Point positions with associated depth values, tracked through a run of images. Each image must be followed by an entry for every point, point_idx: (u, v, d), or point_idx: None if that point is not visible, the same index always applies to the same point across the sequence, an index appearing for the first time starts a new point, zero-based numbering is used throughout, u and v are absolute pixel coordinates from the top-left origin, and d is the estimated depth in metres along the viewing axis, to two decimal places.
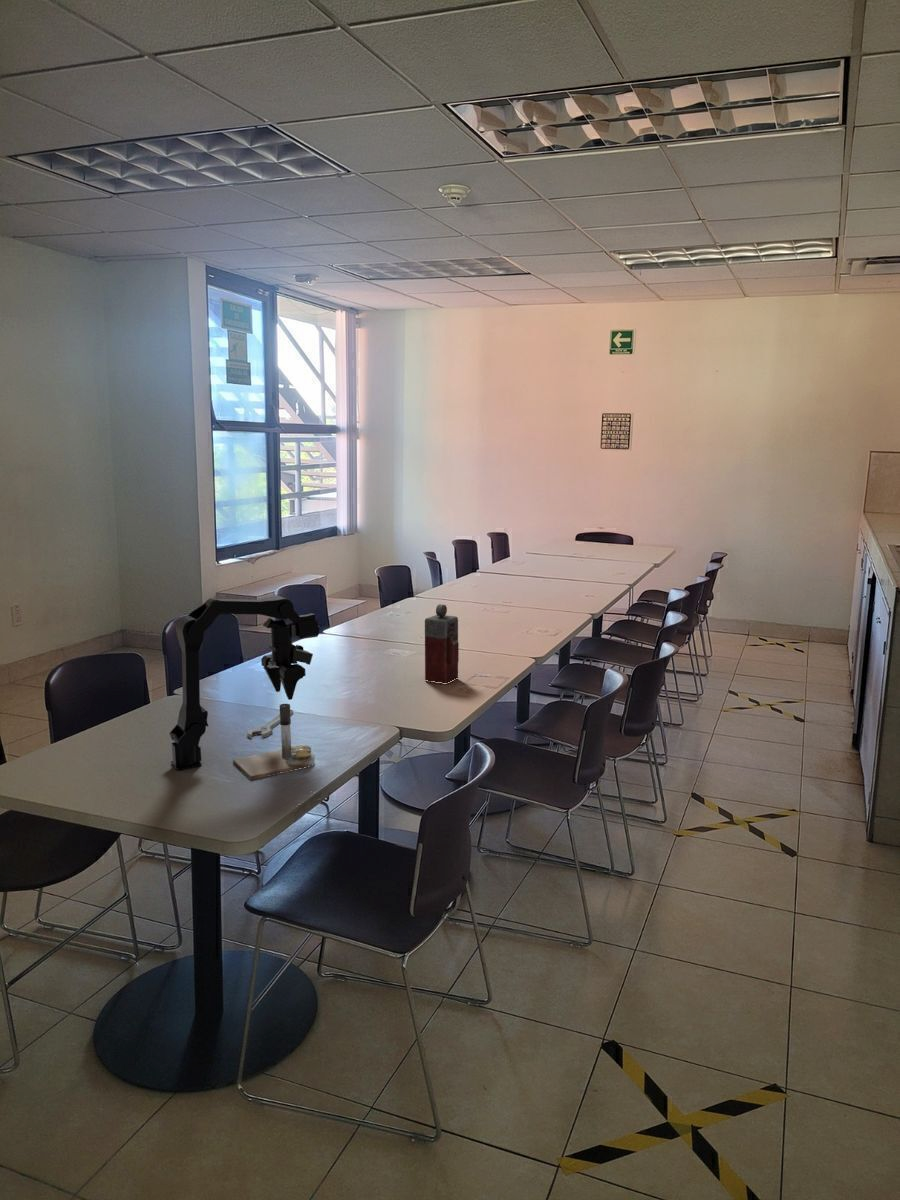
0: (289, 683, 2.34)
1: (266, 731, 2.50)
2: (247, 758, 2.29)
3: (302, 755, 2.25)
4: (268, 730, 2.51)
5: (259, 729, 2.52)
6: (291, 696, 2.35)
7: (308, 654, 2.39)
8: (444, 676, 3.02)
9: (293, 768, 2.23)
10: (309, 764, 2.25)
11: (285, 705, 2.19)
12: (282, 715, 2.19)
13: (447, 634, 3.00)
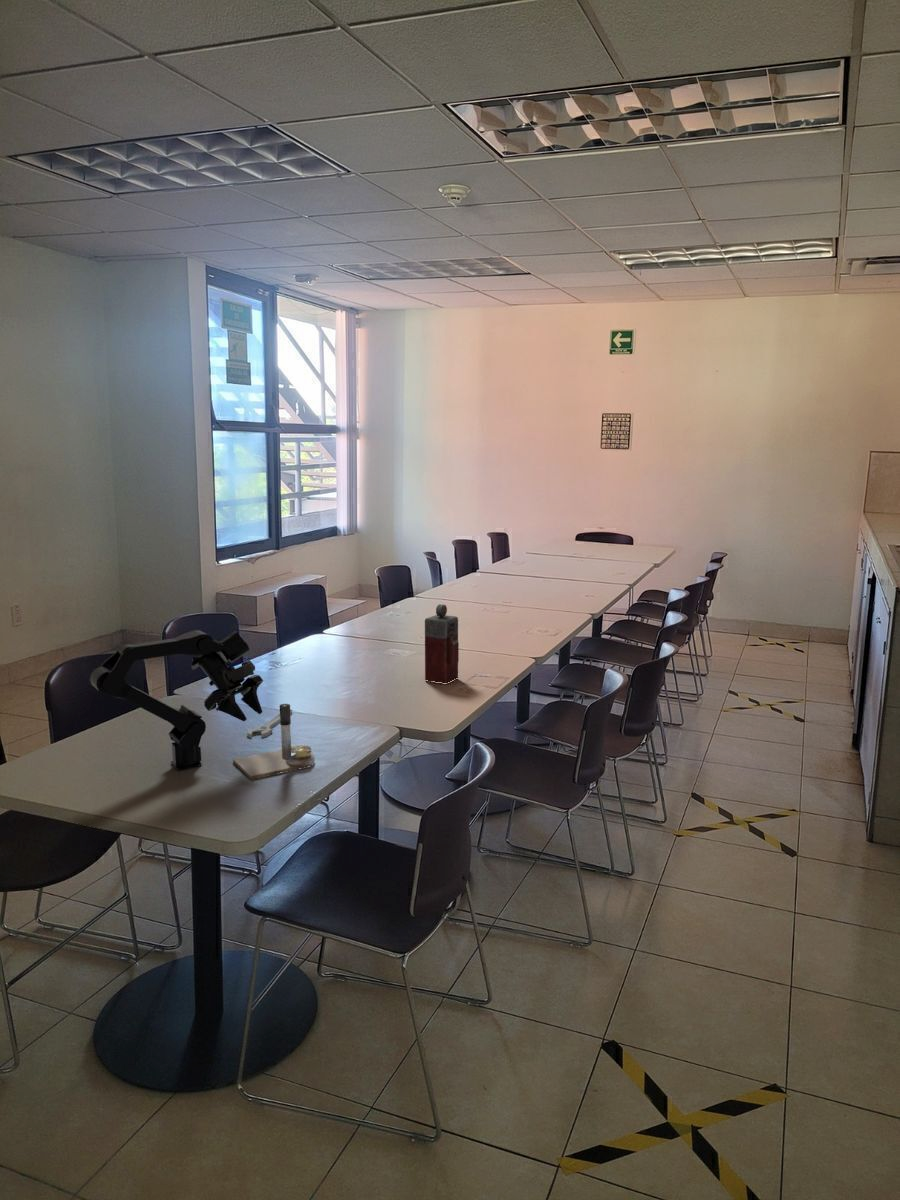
0: (230, 708, 2.21)
1: (266, 731, 2.50)
2: (247, 758, 2.29)
3: (302, 755, 2.25)
4: (268, 730, 2.51)
5: (259, 729, 2.52)
6: (242, 717, 2.21)
7: (235, 670, 2.21)
8: (444, 676, 3.02)
9: (293, 768, 2.23)
10: (309, 764, 2.25)
11: (285, 705, 2.19)
12: (282, 715, 2.19)
13: (447, 634, 3.00)
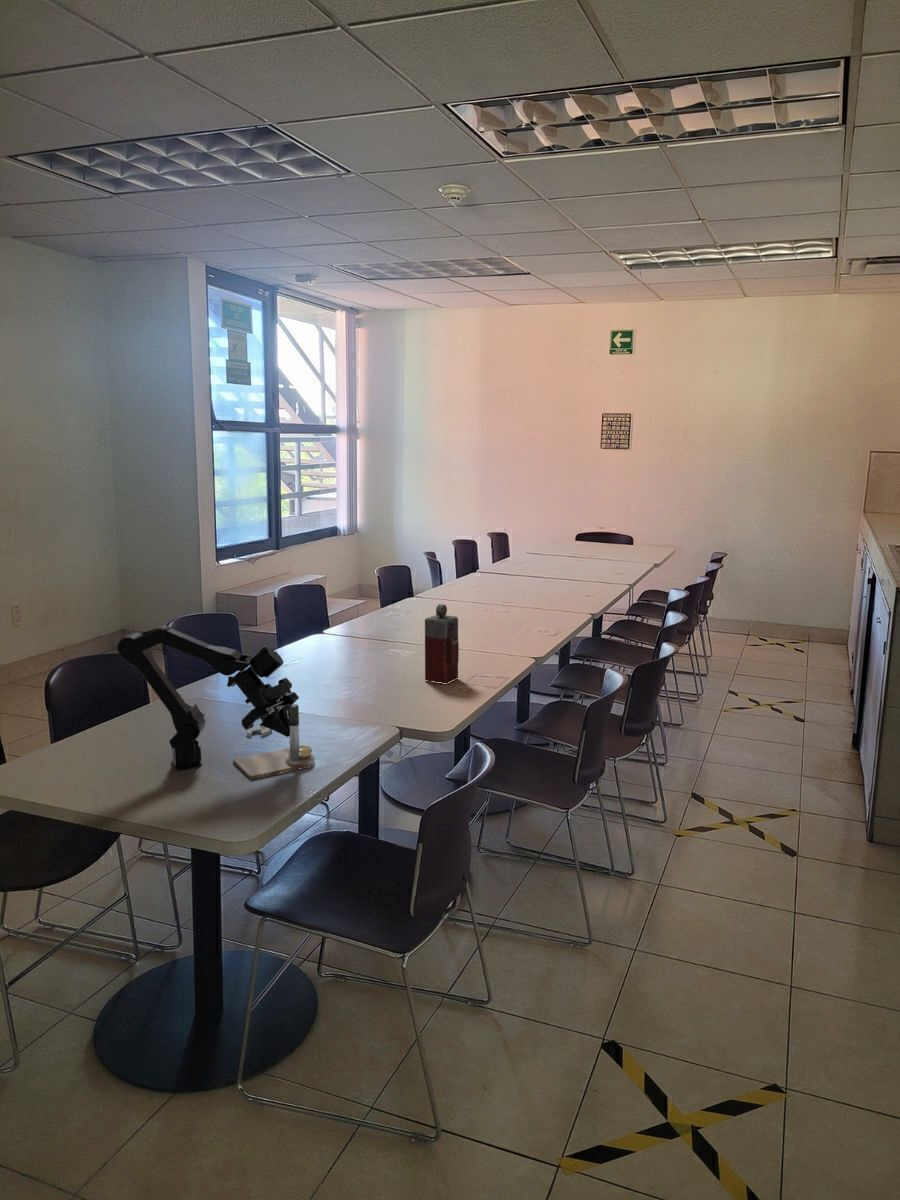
0: (273, 723, 2.21)
1: (265, 730, 2.51)
2: (247, 758, 2.29)
3: (306, 754, 2.25)
4: (267, 729, 2.52)
5: (258, 728, 2.53)
6: (286, 733, 2.20)
7: (273, 688, 2.18)
8: (444, 676, 3.02)
9: (293, 768, 2.23)
10: (309, 764, 2.25)
11: (294, 705, 2.19)
12: (292, 715, 2.18)
13: (447, 634, 3.00)
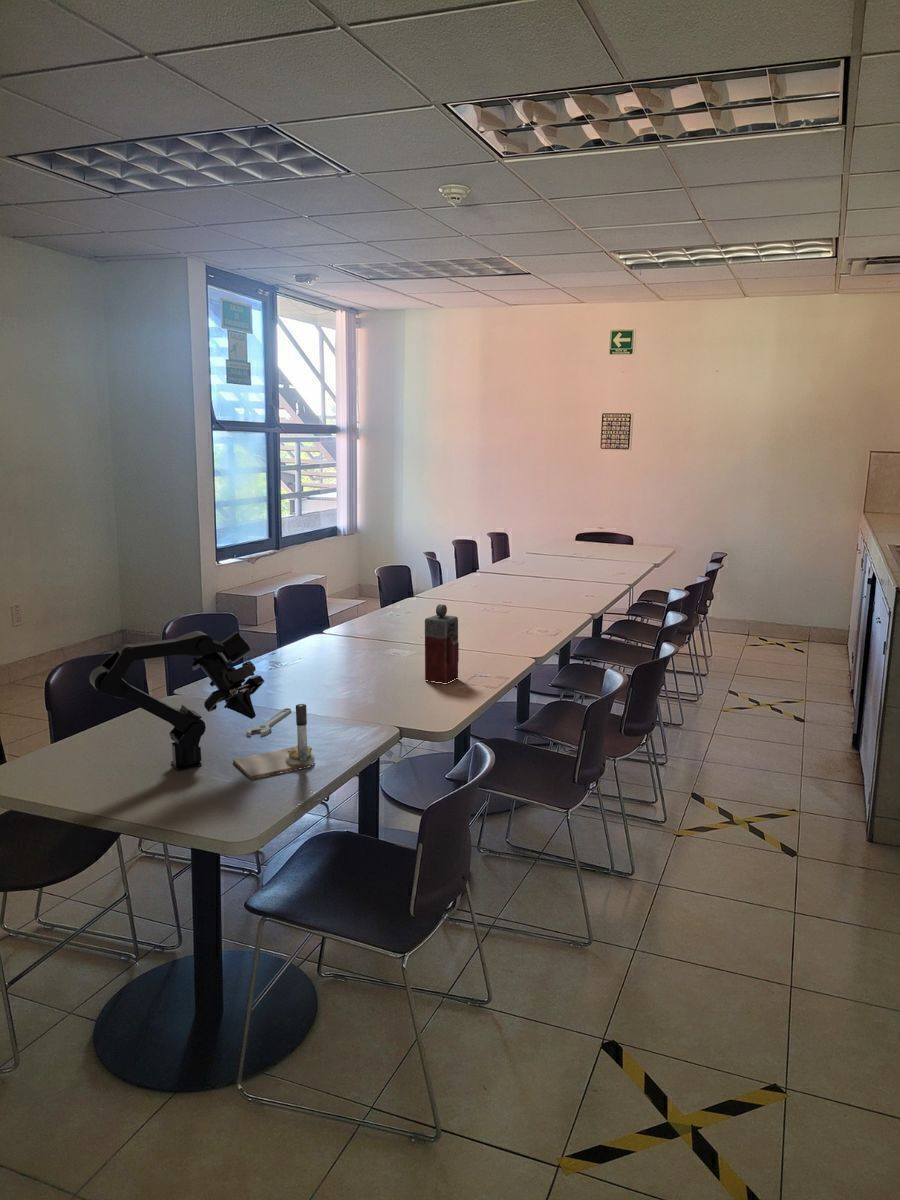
0: (238, 705, 2.24)
1: (265, 729, 2.52)
2: (247, 758, 2.29)
3: (309, 753, 2.26)
4: (267, 728, 2.53)
5: (258, 727, 2.53)
6: (250, 715, 2.23)
7: (235, 670, 2.21)
8: (444, 676, 3.02)
9: (293, 768, 2.23)
10: (309, 764, 2.25)
11: (302, 705, 2.19)
12: (302, 715, 2.18)
13: (447, 634, 3.00)
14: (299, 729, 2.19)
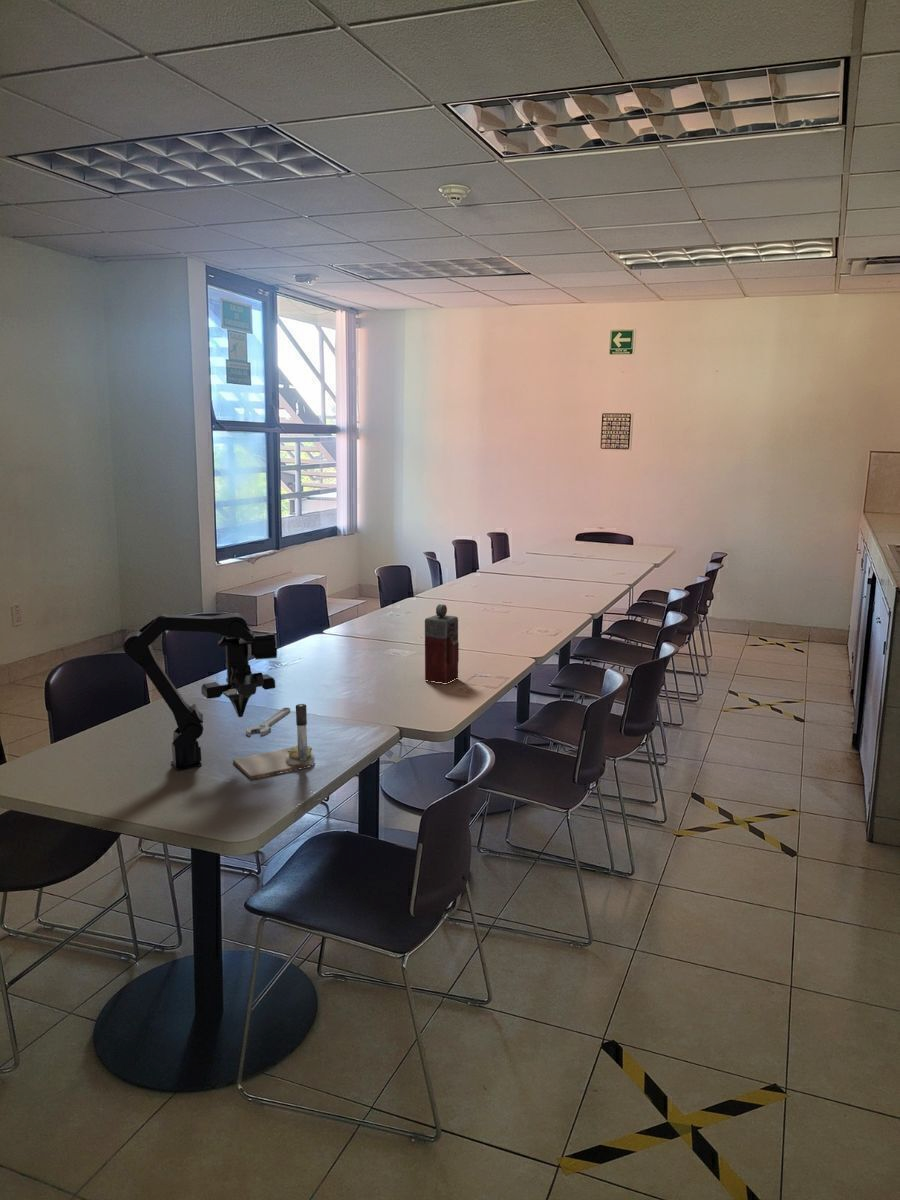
0: None
1: (265, 729, 2.52)
2: (247, 758, 2.29)
3: (309, 753, 2.26)
4: (267, 728, 2.53)
5: (257, 727, 2.54)
6: (237, 714, 2.28)
7: (238, 682, 2.20)
8: (444, 676, 3.02)
9: (293, 768, 2.23)
10: (309, 764, 2.25)
11: (302, 705, 2.19)
12: (302, 715, 2.18)
13: (447, 634, 3.00)
14: (299, 729, 2.19)
